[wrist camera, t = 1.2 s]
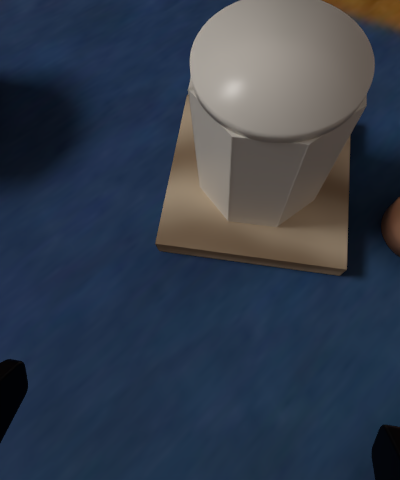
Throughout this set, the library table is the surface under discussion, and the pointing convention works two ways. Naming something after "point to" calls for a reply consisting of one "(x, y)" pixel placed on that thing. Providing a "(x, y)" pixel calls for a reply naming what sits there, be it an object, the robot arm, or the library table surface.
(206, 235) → the cork pad
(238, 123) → the white faceted jar
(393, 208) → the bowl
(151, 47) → the library table surface
